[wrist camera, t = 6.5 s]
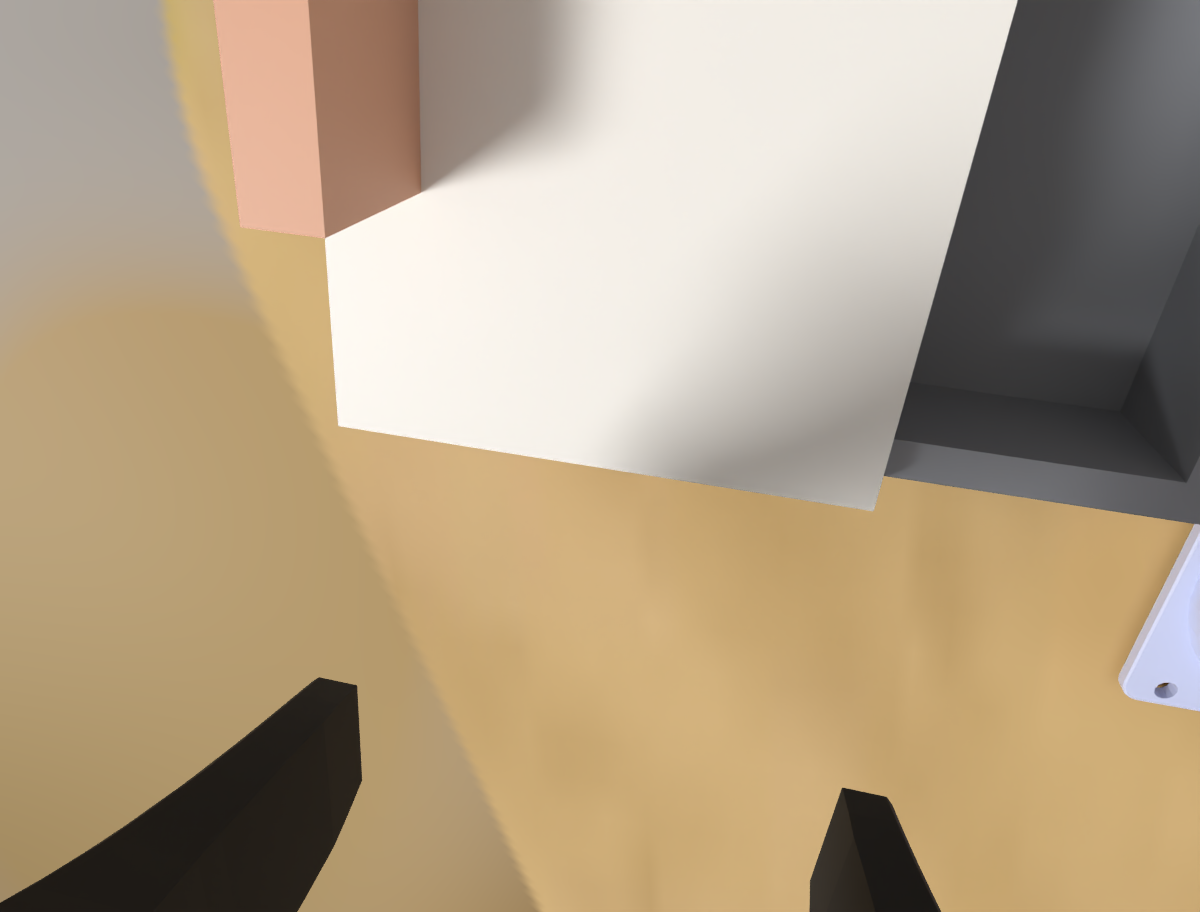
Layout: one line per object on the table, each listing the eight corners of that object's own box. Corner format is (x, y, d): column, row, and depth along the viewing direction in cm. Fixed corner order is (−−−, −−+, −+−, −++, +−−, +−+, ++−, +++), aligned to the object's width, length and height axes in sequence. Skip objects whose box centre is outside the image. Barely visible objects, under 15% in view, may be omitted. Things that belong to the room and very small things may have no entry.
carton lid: (1176, -632, 9) (1467, -1096, 5) (868, 490, 16) (901, 632, 12) (293, -635, 10) (22, -1017, 7) (355, 409, 17) (240, 516, 13)
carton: (1494, -407, 12) (1785, -580, 9) (1130, 434, 19) (1215, 526, 15) (813, -428, 13) (830, -590, 10) (694, 372, 20) (679, 444, 16)
